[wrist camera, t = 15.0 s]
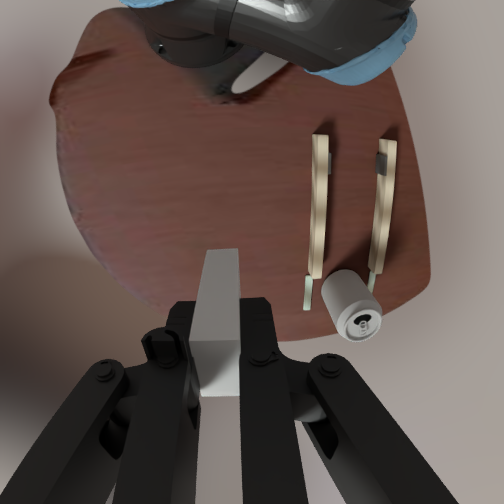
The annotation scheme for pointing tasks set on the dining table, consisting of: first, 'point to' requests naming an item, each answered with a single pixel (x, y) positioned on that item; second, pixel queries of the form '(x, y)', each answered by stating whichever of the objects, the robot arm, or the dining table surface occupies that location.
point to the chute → (319, 202)
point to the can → (351, 306)
